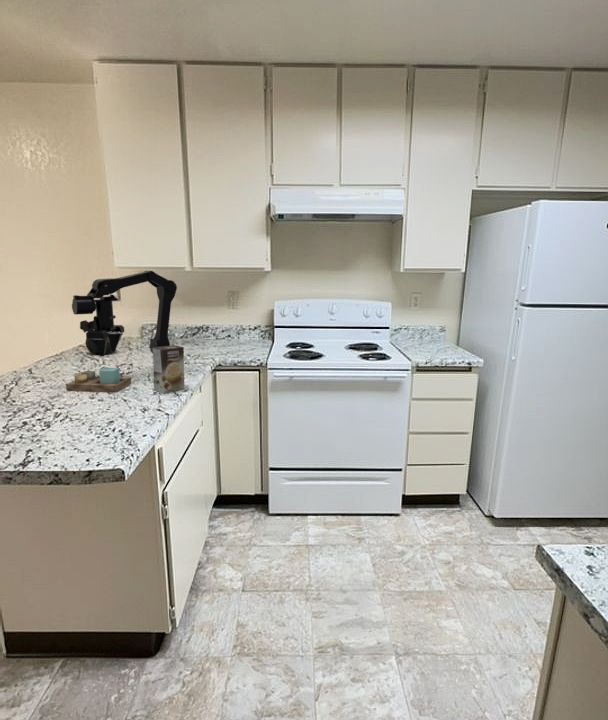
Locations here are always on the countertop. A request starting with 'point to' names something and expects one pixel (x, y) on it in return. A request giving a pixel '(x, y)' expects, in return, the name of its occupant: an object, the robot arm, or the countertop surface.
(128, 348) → the countertop surface
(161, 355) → the coffee box
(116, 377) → the teal block
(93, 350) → the squash
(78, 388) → the puzzle board
